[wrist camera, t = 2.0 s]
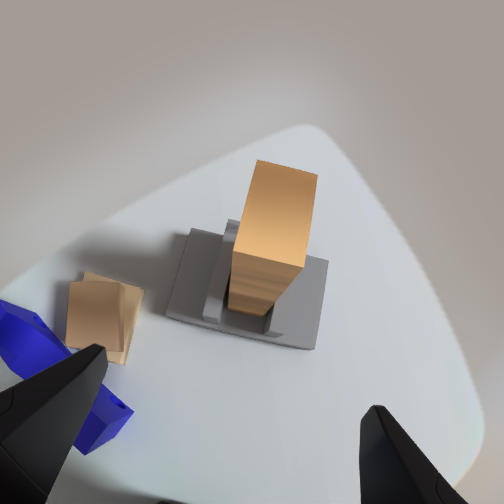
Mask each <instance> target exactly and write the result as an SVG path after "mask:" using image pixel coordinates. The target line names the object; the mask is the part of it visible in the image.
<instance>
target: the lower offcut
mask: <svg viewBox="0 0 504 504" xmlns="http://www.w3.org/2000/svg"><path fill="white" fill-rule="evenodd" d="M82 282H119V281H116V280H113V279H110V278H106V277H103V276H100V275H97V274H94V273H91V272H88V271H85V274H84V277H83V280H82ZM119 283H120V284H121V285H122V286H123V287H124V288H125V306H124V352H115V351H106V352H107V360H108V361H111V362H114V363H117V364H119V365H125V363H126V358H127V354H128V351H129V347H130V343H131V339H132V335H133V332H134V328H135V324H136V321H137V317H138V314H139V310H140V307H141V303H142V300H143V297H144V293H145V292H144V291H143V290H142V289H141V288H139V287H136V286H132V285H129V284H126V283H123V282H119ZM64 343H66V337H65V341H64ZM81 350H82V349H81Z"/></svg>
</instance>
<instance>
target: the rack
mask: <svg viewBox="0 0 504 504" xmlns="http://www.w3.org/2000/svg"><path fill="white" fill-rule="evenodd" d="M239 226H240V221H235V220H231V219H228V222H227V225H226V229H225V233H224V235H220V234H216V233H212V232H208V231H203V230H199V229H195V228H191V231H190V234H189V237H188V240H187V243H186V246H185V250H184V253H183V256H182V259H181V263H180V266H179V269H178V272H177V276H176V279H175V283H174V286H173V289H172V293H171V296H170V300H169V303H168V307H167V311H166V314H165V315H166V316H167V317H169V318H171V319H175V320H179V321H182V322H186V323H190V324H193V325H197V326H201V327H205V328H209V329H213V330H217V331H221V332H225V333H229V334H234V335H238V336H242V337H247V338H251V339H256V340H260V341H265V342H270V343H274V344H279V345H284V346H289V347H295V348H300V349H305V350H313V349H315V344H316V338H317V333H318V327H319V321H320V315H321V309H322V303H323V296H324V290H325V283H326V276H327V269H328V262H329V260H324V259H320V258H316V257H312V256H308V255H306V258H305V265H304V268H303V269H302V271H301V272H300V273H299V274H298V275H297V277H296V278H295V279H294V280H293V282H292V283H291V284H290V285H289V286H288V288H287V289H286V290H285V291H284V292H283V293H282V295H281V296H280V297H279V298H278V299H277V301H276V302H275V303H274V304H273V305H272V306H271V308H270V309H269V310H268V311H267V312H266V313H265V315H264V316H263V317H262V318H261V317H257V316H252V315H248V314H243V313H239V312H235V311H231V310H228V300H229V288H230V277H231V266H232V255H233V249H234V245H235V241H236V237H237V233H238V229H239Z"/></svg>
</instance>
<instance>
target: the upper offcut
mask: <svg viewBox="0 0 504 504" xmlns="http://www.w3.org/2000/svg"><path fill="white" fill-rule="evenodd" d="M124 306H125V288H124V287H123V286H122V285H121V284H120V283H119V282H79V281H70V286H69V297H68V311H67V330H66V347H71V348H77V349H84V348H86V347H87V346H89V345H91V344H94V343H96V344H99V345H102V346H104V347H105V348H106V351H115V352H124Z"/></svg>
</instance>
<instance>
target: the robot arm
mask: <svg viewBox="0 0 504 504" xmlns="http://www.w3.org/2000/svg"><path fill="white" fill-rule="evenodd" d="M107 368H108V360H107V352H106V348H105V347H104V346H102V345H99V344H96V343H94V344H91V345H89V346H87V347H86V348H84V349H82V350H80V351H78V352H76V353H74V354H73V355H71V356H69V357H67V358H65V359H63V360H61V361H59V362H58V363H56V364H54V365H52V366H50V367H48V368H46V369H44V370H42V371H41V372H39V373H37V374H35V375H33V376H31V377H29V378H27V379H26V380H24V381H22V382H20V383H18V384H16V385H15V386H12V387H10V388H8V389H6V390H5V391H2V392H0V504H45V503H46V500H47V498H48V495H49V493H50V491H51V489H52V487H53V484H54V482H55V480H56V478H57V476H58V474H59V472H60V469H61V467H62V465H63V463H64V461H65V459H66V457H67V455H68V453H69V451H70V449H71V447H72V445H73V443H74V441H75V439H76V437H77V435H78V433H79V431H80V429H81V427H82V425H83V423H84V421H85V419H86V418H87V416H88V414H89V412H90V410H91V408H92V406H93V404H94V401H95V399H96V396H97V393H98V391H99V388H100V386H101V383H102V381H103V378H104V376H105V373H106V371H107ZM359 470H360V490H361V504H468V503H467V502H466V501H465V500H464V499H463V498H462V497H461V496H460V495H459V494H458V493H457V492H456V491H455V490H454V489H453V488H452V487H451V486H450V484H449V483H448V482H447V481H446V480H445V479H444V477H443V476H442V475H441V474H440V473H438V470H437V469H436V468H435V467H434V465H433V464H432V463H431V462H430V461H429V459H428V458H427V457H426V456H425V455H424V453H423V452H422V451H421V450H420V449H419V447H418V446H417V445H416V444H415V443H414V441H413V440H412V439H411V438H410V436H409V435H408V434H407V433H406V432H405V430H404V429H403V428H402V427H401V426H400V424H399V423H398V422H397V421H396V420H395V418H394V417H393V416H392V415H391V414H390V412H389V411H388V410H387V409H386V408H385V407H384V406H382V405H373V406H371V407H370V409H369V410H368V411H367V413H366V414H365V415H364V417H363V418H362V420H361V424H360V449H359ZM157 504H169V503H165V502H158V503H157Z"/></svg>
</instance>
